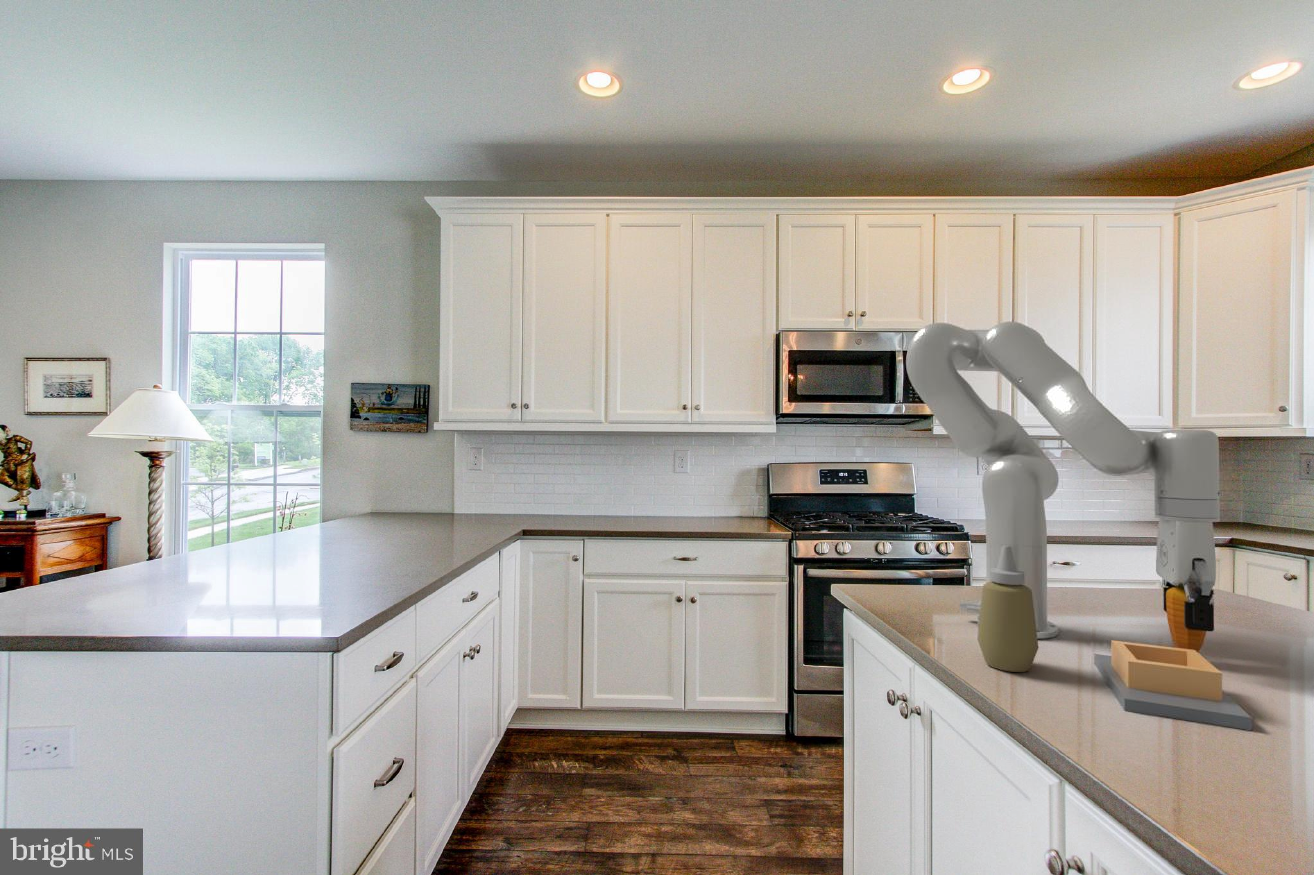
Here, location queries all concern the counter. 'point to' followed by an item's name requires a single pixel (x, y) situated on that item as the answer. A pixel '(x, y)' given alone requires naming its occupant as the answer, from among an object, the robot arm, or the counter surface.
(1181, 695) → the socket block
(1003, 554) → the squeeze bottle
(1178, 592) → the carrot
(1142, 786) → the counter surface
